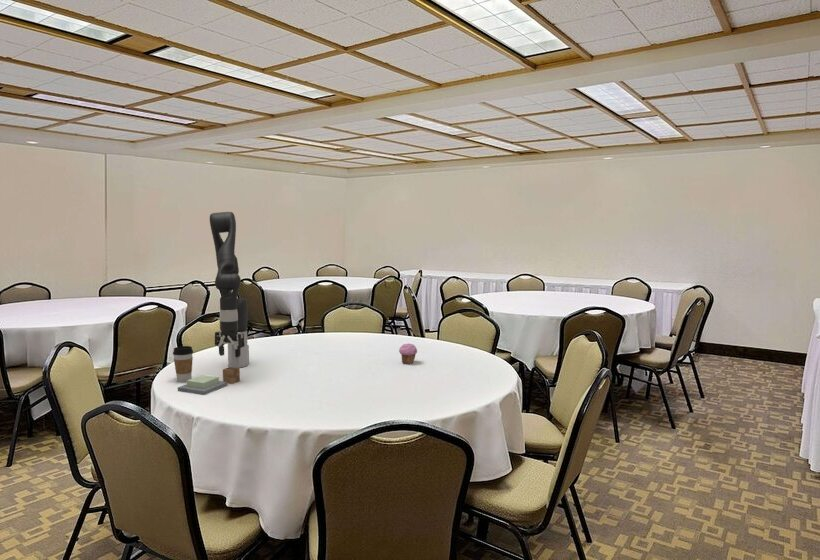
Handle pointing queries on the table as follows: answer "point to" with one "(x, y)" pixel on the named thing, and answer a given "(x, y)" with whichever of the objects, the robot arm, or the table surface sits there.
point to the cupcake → (408, 353)
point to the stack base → (202, 391)
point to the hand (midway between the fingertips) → (229, 356)
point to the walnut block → (231, 375)
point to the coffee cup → (183, 363)
